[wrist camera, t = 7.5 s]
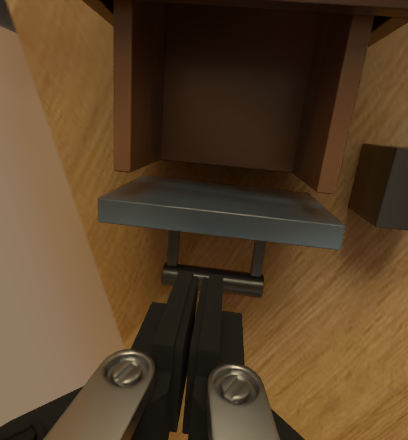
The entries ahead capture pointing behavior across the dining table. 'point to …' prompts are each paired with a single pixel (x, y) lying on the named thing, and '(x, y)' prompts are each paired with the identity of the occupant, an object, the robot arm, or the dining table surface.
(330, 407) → the dining table surface
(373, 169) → the block
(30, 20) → the dining table surface
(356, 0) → the cabinet
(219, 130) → the drawer
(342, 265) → the dining table surface
